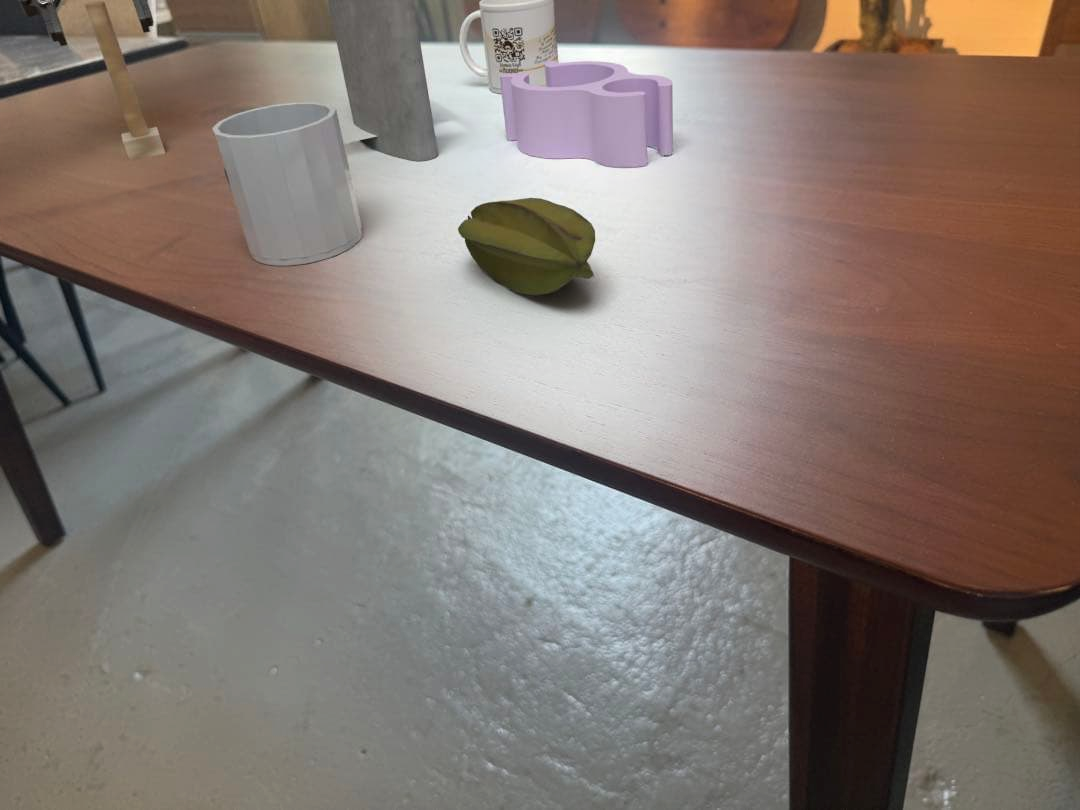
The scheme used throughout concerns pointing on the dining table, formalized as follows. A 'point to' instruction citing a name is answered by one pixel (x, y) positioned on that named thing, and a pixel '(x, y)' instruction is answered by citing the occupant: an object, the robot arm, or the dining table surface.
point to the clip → (589, 113)
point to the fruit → (529, 244)
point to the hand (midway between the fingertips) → (104, 34)
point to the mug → (513, 39)
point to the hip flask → (385, 75)
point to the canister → (290, 182)
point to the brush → (123, 87)
